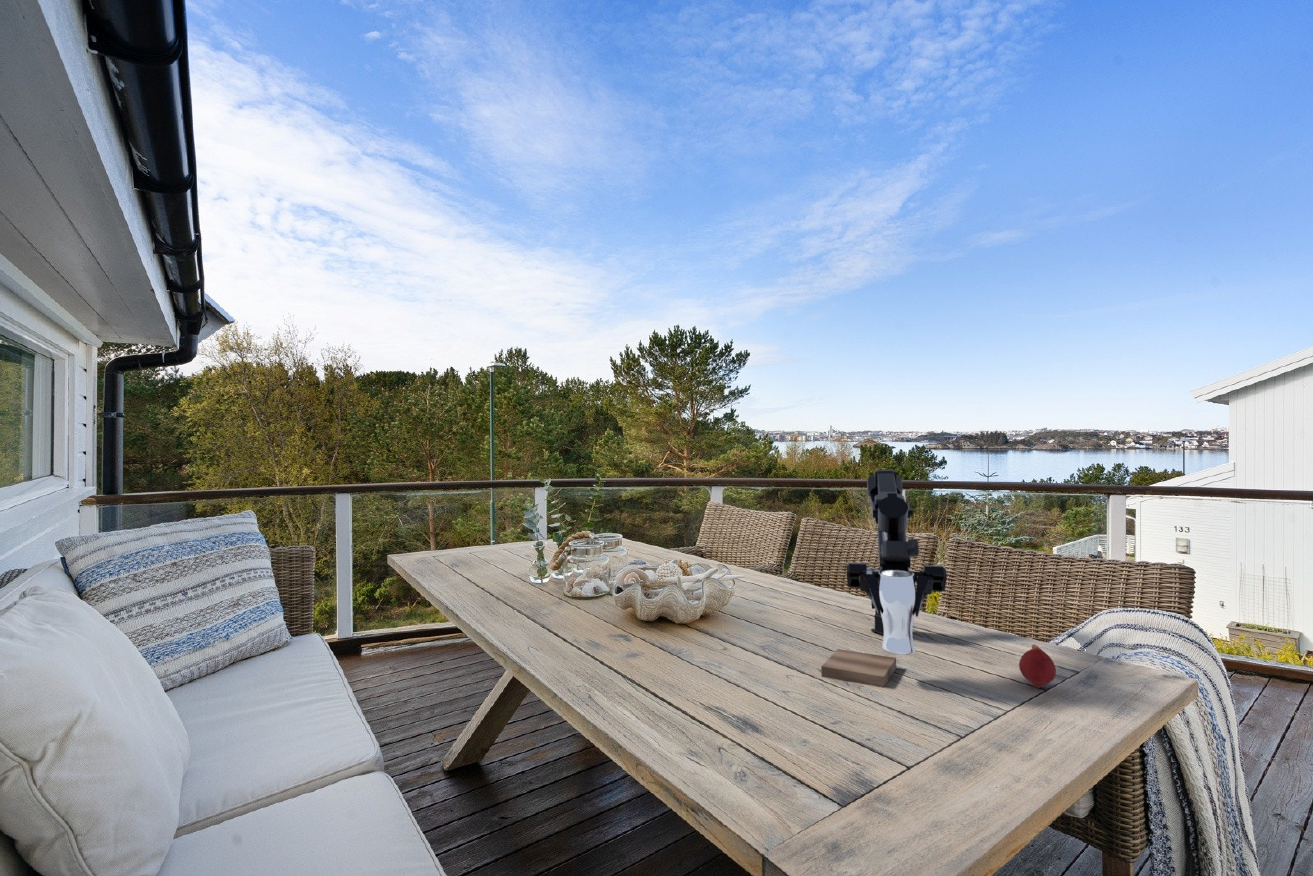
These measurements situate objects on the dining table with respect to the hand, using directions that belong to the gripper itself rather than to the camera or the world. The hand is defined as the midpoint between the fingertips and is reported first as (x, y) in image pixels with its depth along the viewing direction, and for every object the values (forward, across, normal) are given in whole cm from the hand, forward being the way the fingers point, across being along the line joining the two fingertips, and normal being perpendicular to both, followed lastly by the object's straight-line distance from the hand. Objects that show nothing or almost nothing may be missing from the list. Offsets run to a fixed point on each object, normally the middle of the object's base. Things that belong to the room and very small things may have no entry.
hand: (897, 614), depth 120 cm
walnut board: (+6, -7, +12) cm, 16 cm away
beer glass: (+4, 0, +6) cm, 8 cm away
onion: (+7, +24, +12) cm, 28 cm away
